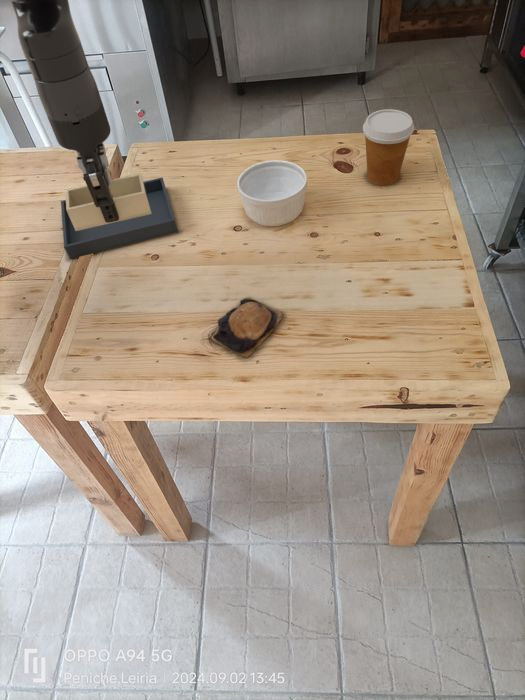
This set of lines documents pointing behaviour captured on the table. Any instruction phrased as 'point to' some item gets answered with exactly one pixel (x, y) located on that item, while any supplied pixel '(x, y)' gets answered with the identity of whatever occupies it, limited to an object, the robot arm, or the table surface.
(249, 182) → the ramekin
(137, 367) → the table surface
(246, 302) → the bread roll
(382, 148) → the disposable coffee cup
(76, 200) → the beige open box
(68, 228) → the tray
